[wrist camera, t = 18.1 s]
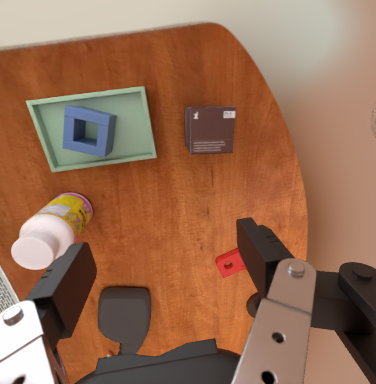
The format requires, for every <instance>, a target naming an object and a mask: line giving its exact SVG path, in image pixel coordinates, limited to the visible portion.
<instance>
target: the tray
mask: <svg viewBox="0 0 376 384" xmlns="http://www.w3.org/2000/svg"><path fill="white" fill-rule="evenodd" d="M26 103H27V106H28V109H29V111H30V114H31V117H32V119H33V122H34V125H35V128H36V130H37V133H38V136H39V139H40V141H41V144H42V147H43V149H44V152H45V155H46V158H47V160H48V163H49V166H50V169H51V171H52V172H58V171H66V170H73V169H80V168H87V167H94V166H101V165H109V164H116V163H123V162H130V161H137V160H144V159H152V158H157V151H156V145H155V140H154V134H153V128H152V123H151V117H150V111H149V105H148V100H147V94H146V88H145V87H144V86H141V87H133V88H125V89H117V90H110V91H102V92H94V93H86V94H78V95H70V96H62V97H54V98H46V99H38V100H31V101H26ZM65 106H82V107H86V108H90V109H94V110H98V111H102V112H106V113H110V114H114V115H117V118H116V126H115V134H114V142H113V149H112V152H111V153H110V154H108V155H107V156H106V157H100V156H96V155H91V154H86V153H82V152H77V151H72V150H68V149H63V129H64V110H65ZM98 125H99V124H96V123H92V122H88V121H86V125H85V137H86V138H91V139H95V140H97V135H98Z"/></svg>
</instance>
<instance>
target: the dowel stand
mask: <svg viewBox="0 0 376 384" xmlns="http://www.w3.org/2000/svg"><path fill="white" fill-rule="evenodd" d="M260 302H261V297H260V295H259V293H256V294H254V295H253V296H251V297H250V298H249V300H248V302H247V310H248V313H249V314H250V315H251V316H252V317H253V318H255V316H256V313H257V310H258V307H259V305H260Z"/></svg>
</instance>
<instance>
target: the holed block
mask: <svg viewBox="0 0 376 384" xmlns="http://www.w3.org/2000/svg"><path fill="white" fill-rule="evenodd" d="M116 118H117V115H114V114H110V113H106V112H102V111H98V110H94V109H90V108H86V107H82V106H65V110H64V129H63V149H68V150H72V151H77V152H82V153H86V154H91V155H96V156H100V157H106V156H107V155H108V154H110V153H111V152H112V149H113V142H114V134H115V126H116ZM86 121H88V122H92V123H96V124H99V125H98V135H97V140H95V139H91V138H86V137H85V125H86Z"/></svg>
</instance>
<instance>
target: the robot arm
mask: <svg viewBox="0 0 376 384" xmlns="http://www.w3.org/2000/svg"><path fill="white" fill-rule="evenodd" d="M236 224H237V245H238V250H239V254H240V256H241V258H242V260H243V262H244V264H245V266H246V268H247V270H248V272H249V274H250V276H251V278H252V280H253V282H254V285H255V287H256V289H257V291H258V293H259V295H260V297H261V302H260V305H259V307H258V310H257V313H256V316H255V318H254V321H253V324H252V327H251V329H250V332H249V335H248V338H247V340H246V343H245V346H244V349H243V351H242V354H241V355H239V354H237V353H234V352H232V351H229V350H225V349H219V348H217V345H216V340H215V338H214V339H208V340H202V341H196V342H191V343H186V344H184V345H182V346H180V347H177V348H175V349H173V350H171V351H169V352H166V353H164V354H162V355H160V356H146V355H137V354H128V353H127V354H121V355H116V356H110V357H104V358H99V359H98V363H97V366H96V370H95V371H93V372H91V373H90V374H88V375H86V376H84V377H83V378H82V379H80V380H79V381H77V382H76V383H75V384H303V383H304V375H305V366H306V359H307V350H308V342H309V334H310V333H309V332H310V327H314V328H321V329H328V330H335V332H336V333H337V335H338V336H339V338H340V339H341V341H342V342H343V344H344V345H345V347H346V348H347V350H348V351H349V353H350V354H351V355H352V357H353V358H354V360H355V361H356V363H357V364H358V366H359V367H360V369H361V370H362V372H363V373H364V375H365V376H366V377H367V379H368V381H369V382H370V384H376V269H375V268H373V267H371V266H368V265H365V264H362V263H356V262H348V263H344V264H342V265H341V266H340V269H339V273H336V272H324V271H316V270H315V269H314V267H313V266H312V265H311V264H309V263H307V262H306V261H303V260H300V259H296V258H294V256H293V255H292V254H291V253H290V252H289V251H288V249H287V248H286V247H285V246H284V245H283V243H282V242H280V240H279V239H278V238H277V236H276V235H275V234H274V233H273V232H272V230H271V229H269V228H267V227H265V226H264V225H259V226H257V224H256V223H255V222H254V220H253V219H252V218H251V217H250V218H243V219H237V222H236ZM96 274H97V268H96V264H95V261H94V258H93V255H92V252H91V250H90V247H89V244H88V243H87V242H83V243H77V244H71V245H70V246H69V247H68V249H67V250H66V252H65V253H64V254H63V255H61V256H60V257H58V258H57V259H56V260H55V261H54V262H52V263H51V265H50V266H49V267H48V269H47V270H46V272H45V273H44V274H43V276H42V277H41V279H40V280H39V281H38V282H37V284H36V285H35V286H34V288H33V289H32V291H31V292H30V293H29V295H28V296H27V297H26V299H25V300H24V301H21V302H18V303H16V304H14V305H12V306H10V307H8V308H7V309H5V310H4V311H3V312H1V313H0V384H70V382H69V379H68V376H67V373H66V370H65V367H64V364H63V361H62V358H61V356H60V353H59V350H58V348H57V343H58V341H59V339H64V338H70V337H71V336H72V334H73V331H74V329H75V327H76V324H77V322H78V319H79V317H80V315H81V312H82V310H83V307H84V305H85V303H86V300H87V298H88V295H89V293H90V291H91V288H92V286H93V283H94V281H95V278H96Z"/></svg>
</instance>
